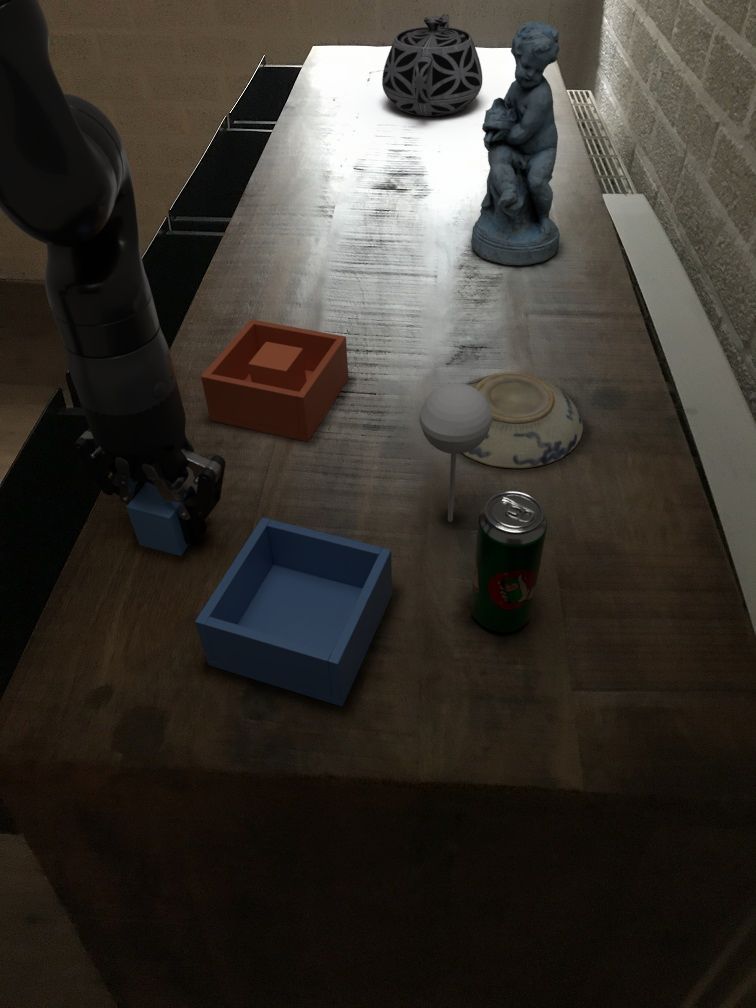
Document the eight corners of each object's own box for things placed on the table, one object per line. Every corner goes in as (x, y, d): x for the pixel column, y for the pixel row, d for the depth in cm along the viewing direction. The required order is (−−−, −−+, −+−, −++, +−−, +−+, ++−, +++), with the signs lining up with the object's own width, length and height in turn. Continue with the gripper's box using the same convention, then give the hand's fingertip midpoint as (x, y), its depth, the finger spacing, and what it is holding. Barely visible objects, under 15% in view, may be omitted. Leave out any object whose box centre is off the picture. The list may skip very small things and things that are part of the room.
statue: (472, 287, 112) (490, 125, 87) (462, 168, 122) (476, -9, 97) (559, 284, 112) (602, 120, 87) (542, 165, 121) (577, -14, 96)
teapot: (489, 80, 164) (495, -4, 154) (471, 134, 143) (476, 41, 133) (399, 76, 168) (398, -6, 157) (368, 129, 146) (365, 38, 136)
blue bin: (208, 665, 64) (194, 621, 60) (270, 562, 71) (262, 516, 67) (342, 707, 61) (337, 664, 57) (392, 594, 68) (391, 549, 64)
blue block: (139, 545, 73) (125, 506, 70) (164, 513, 76) (152, 474, 73) (181, 556, 72) (169, 518, 69) (204, 523, 75) (194, 485, 72)
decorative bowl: (610, 424, 84) (503, 364, 92) (617, 396, 82) (506, 337, 90) (517, 492, 77) (410, 421, 85) (521, 464, 75) (410, 394, 83)
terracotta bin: (210, 420, 86) (200, 376, 82) (257, 361, 94) (250, 318, 90) (308, 442, 83) (303, 397, 79) (348, 379, 91) (346, 336, 87)
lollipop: (452, 488, 78) (459, 359, 67) (496, 521, 74) (510, 390, 64) (404, 518, 75) (404, 389, 64) (447, 553, 72) (455, 423, 61)
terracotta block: (254, 401, 87) (248, 363, 84) (271, 379, 90) (266, 341, 86) (291, 409, 86) (286, 370, 82) (307, 386, 89) (303, 348, 85)
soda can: (486, 580, 69) (497, 478, 61) (540, 602, 67) (559, 501, 59) (459, 620, 66) (467, 520, 58) (515, 645, 64) (532, 545, 56)
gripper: (230, 371, 63) (258, 522, 75) (77, 340, 66) (128, 489, 78) (182, 429, 58) (220, 580, 70) (20, 392, 61) (83, 542, 73)
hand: (171, 531), depth 74 cm, fingers closed on blue block, 4 cm apart
